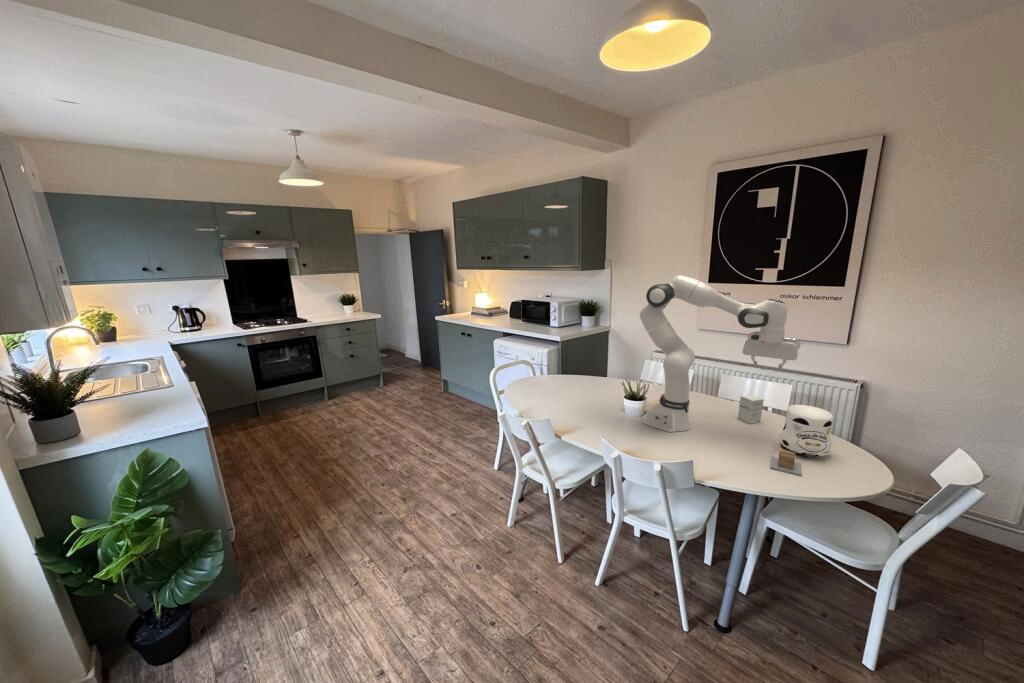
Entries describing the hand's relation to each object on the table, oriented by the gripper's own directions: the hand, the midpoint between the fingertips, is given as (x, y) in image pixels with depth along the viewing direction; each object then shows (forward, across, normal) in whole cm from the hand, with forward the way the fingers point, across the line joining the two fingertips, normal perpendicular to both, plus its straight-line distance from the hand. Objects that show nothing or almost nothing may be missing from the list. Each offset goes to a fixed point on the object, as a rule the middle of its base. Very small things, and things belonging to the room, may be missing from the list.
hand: (767, 366), depth 170 cm
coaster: (+34, -11, +23) cm, 43 cm away
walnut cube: (+33, -11, +23) cm, 42 cm away
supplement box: (+34, +5, -19) cm, 40 cm away
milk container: (+34, -17, +3) cm, 38 cm away
